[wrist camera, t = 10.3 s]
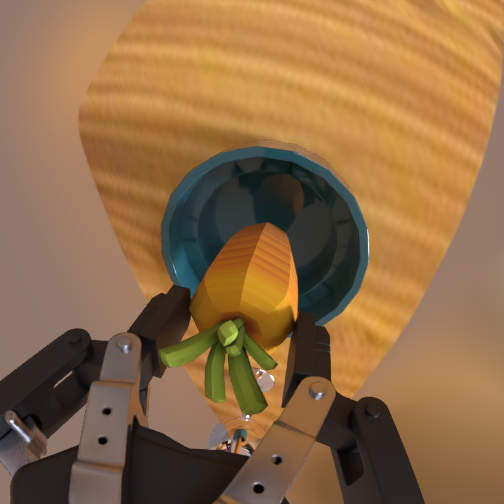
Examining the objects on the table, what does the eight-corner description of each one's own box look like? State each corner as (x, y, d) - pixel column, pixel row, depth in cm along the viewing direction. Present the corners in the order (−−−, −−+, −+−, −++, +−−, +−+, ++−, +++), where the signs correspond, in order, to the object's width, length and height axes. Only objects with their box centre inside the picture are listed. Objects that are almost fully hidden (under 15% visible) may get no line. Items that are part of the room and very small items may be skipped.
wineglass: (288, 373, 29) (273, 474, 19) (271, 400, 32) (253, 489, 21) (235, 357, 29) (204, 457, 19) (224, 386, 32) (195, 474, 21)
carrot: (223, 221, 22) (119, 370, 9) (276, 183, 20) (218, 323, 7) (262, 269, 24) (211, 442, 10) (315, 238, 22) (317, 419, 8)
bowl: (193, 131, 20) (162, 137, 16) (374, 159, 19) (393, 173, 14) (187, 283, 26) (164, 316, 22) (333, 311, 25) (336, 351, 20)
